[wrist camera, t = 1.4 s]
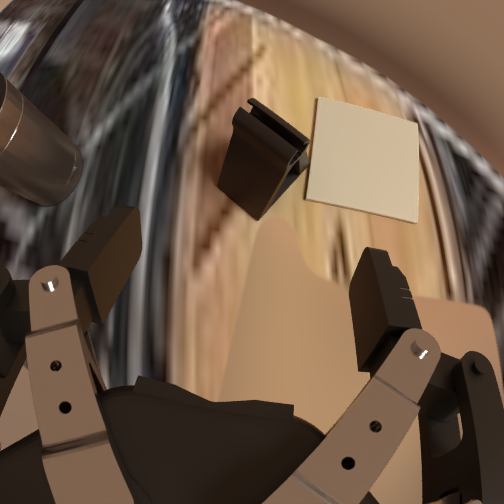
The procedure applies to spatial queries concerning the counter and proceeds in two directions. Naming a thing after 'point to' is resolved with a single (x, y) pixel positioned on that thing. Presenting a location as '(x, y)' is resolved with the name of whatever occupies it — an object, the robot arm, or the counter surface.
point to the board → (364, 161)
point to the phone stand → (261, 159)
